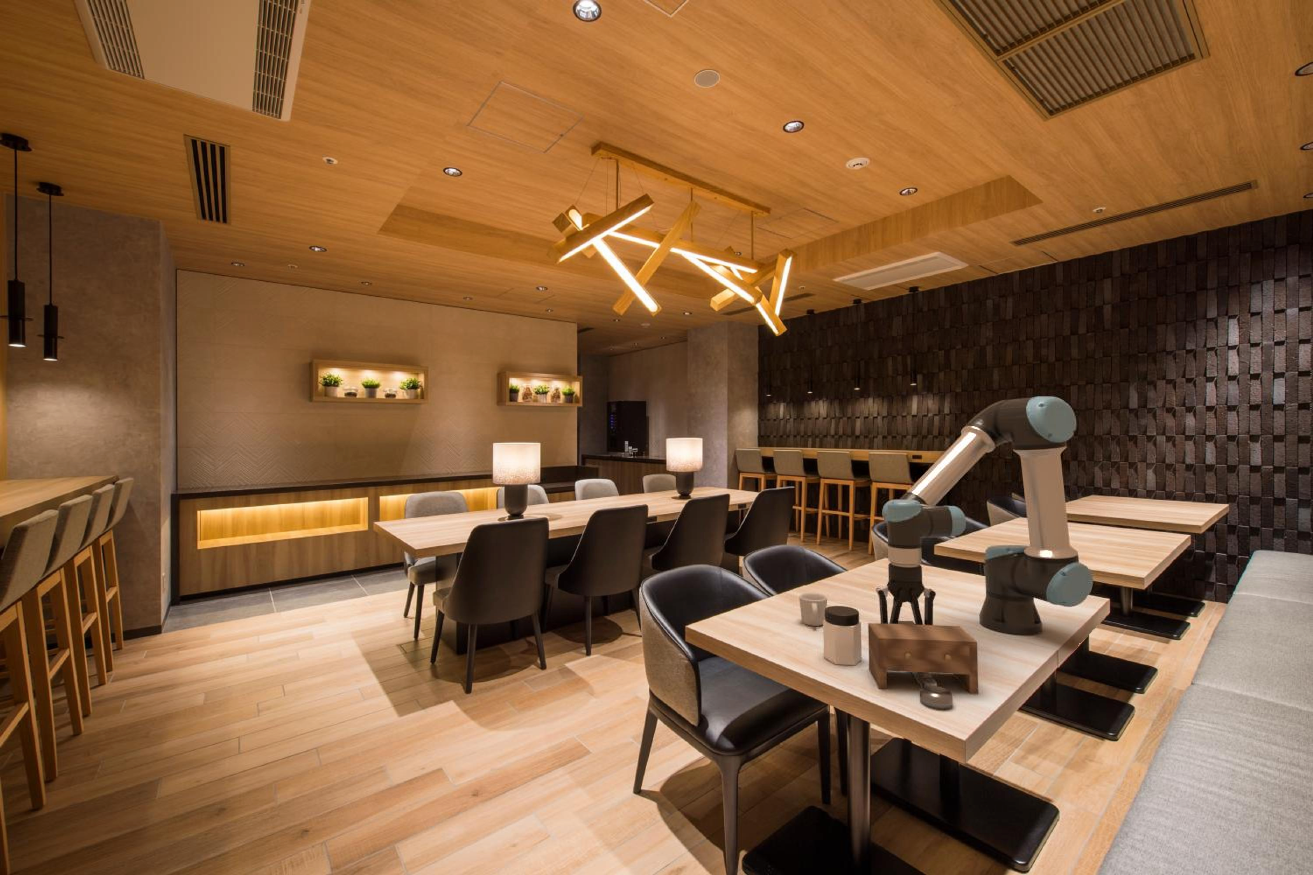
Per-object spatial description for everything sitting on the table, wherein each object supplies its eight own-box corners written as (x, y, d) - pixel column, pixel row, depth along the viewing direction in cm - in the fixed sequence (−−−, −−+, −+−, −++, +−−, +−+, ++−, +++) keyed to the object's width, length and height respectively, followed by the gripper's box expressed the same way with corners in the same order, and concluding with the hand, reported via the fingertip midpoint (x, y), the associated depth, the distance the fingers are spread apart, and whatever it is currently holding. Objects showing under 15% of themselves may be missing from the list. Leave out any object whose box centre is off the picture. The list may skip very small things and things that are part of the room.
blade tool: (913, 657, 137) (912, 620, 137) (940, 692, 118) (939, 650, 118) (896, 656, 138) (895, 620, 138) (921, 691, 119) (920, 650, 119)
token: (947, 698, 116) (947, 686, 116) (956, 712, 110) (956, 699, 110) (916, 696, 117) (916, 684, 117) (924, 709, 111) (923, 697, 111)
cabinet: (960, 673, 127) (959, 626, 127) (979, 695, 117) (978, 643, 117) (869, 669, 131) (868, 622, 131) (879, 690, 120) (878, 639, 120)
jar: (833, 649, 143) (832, 603, 143) (865, 657, 138) (864, 608, 138) (819, 660, 136) (818, 611, 137) (852, 668, 131) (851, 618, 131)
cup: (830, 632, 156) (829, 603, 157) (800, 630, 158) (800, 602, 158) (826, 619, 167) (825, 593, 167) (799, 618, 169) (798, 592, 169)
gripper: (936, 560, 138) (938, 654, 138) (865, 559, 141) (867, 652, 140) (947, 567, 131) (950, 666, 131) (872, 566, 133) (874, 664, 133)
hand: (907, 658), depth 136 cm, fingers closed on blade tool, 4 cm apart
